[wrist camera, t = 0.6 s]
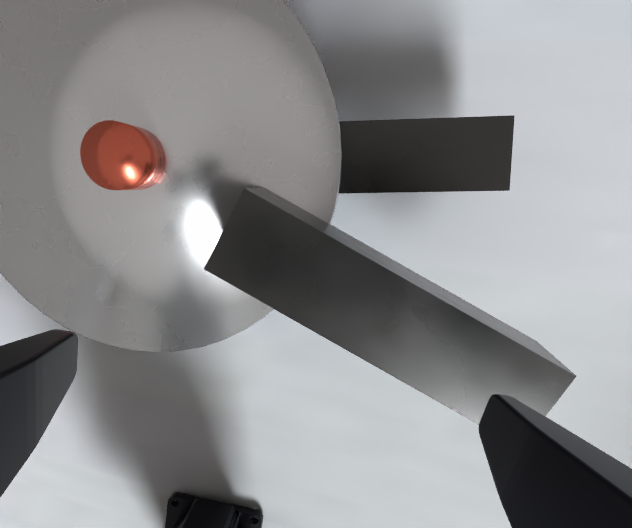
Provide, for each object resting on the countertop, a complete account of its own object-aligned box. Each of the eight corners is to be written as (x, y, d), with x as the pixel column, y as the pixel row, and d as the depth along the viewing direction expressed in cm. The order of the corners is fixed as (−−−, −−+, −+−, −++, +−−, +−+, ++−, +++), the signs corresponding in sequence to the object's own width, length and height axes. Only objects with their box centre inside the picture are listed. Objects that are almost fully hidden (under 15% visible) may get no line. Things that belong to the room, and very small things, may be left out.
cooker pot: (54, 291, 27) (-53, 328, 20) (19, 37, 24) (-118, -22, 17) (468, 295, 24) (512, 338, 17) (482, 10, 21) (542, -74, 14)
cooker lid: (-75, 232, 19) (-187, 244, 15) (47, -140, 15) (-57, -248, 12) (404, 502, 19) (415, 583, 15) (628, 191, 16) (718, 192, 12)
